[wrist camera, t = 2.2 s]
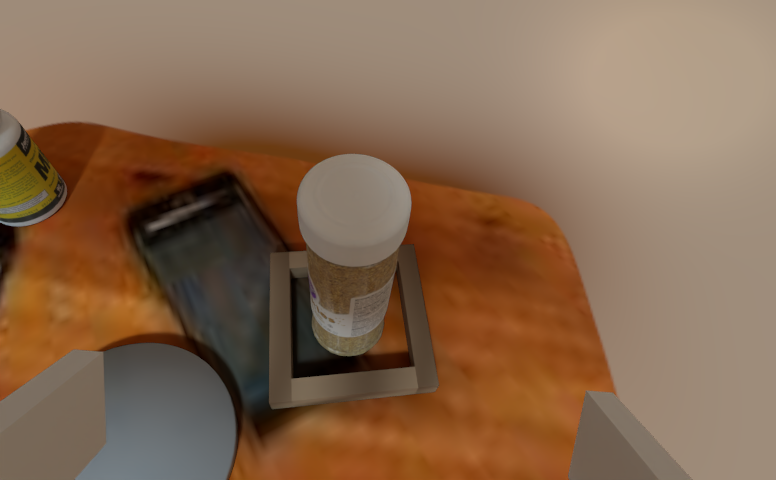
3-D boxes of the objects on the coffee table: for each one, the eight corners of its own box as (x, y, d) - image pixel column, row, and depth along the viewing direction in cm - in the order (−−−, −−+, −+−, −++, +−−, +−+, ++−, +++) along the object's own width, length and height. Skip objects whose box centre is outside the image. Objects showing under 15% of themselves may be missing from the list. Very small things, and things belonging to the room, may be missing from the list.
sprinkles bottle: (299, 311, 30) (275, 173, 18) (361, 279, 31) (374, 134, 20) (335, 373, 28) (331, 262, 16) (399, 336, 29) (436, 211, 18)
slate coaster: (-20, 596, 21) (-35, 598, 20) (43, 357, 27) (33, 352, 26) (233, 558, 23) (229, 559, 22) (242, 340, 28) (238, 334, 28)
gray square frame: (272, 409, 26) (269, 403, 25) (272, 263, 31) (270, 252, 30) (434, 391, 28) (439, 385, 27) (411, 254, 33) (413, 244, 31)
